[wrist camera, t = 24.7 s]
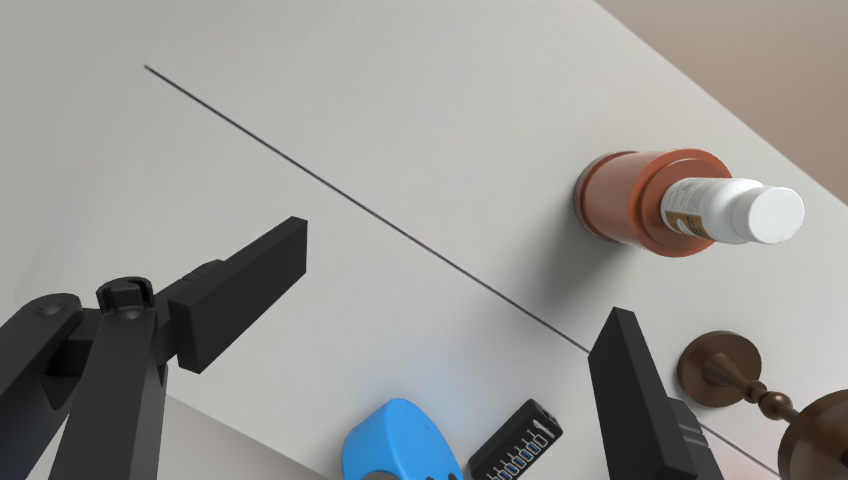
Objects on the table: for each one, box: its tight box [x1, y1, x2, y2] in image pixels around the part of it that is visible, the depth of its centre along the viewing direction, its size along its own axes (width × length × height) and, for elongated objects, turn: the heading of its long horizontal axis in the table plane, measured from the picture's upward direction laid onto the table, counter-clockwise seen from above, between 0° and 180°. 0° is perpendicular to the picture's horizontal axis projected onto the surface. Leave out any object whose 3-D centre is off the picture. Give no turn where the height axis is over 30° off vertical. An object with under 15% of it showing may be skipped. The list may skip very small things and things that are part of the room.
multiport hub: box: [469, 399, 563, 480], centre depth 44 cm, size 4×11×2 cm, turn 139°
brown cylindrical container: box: [574, 148, 732, 257], centre depth 36 cm, size 9×9×11 cm
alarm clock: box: [342, 398, 464, 480], centre depth 37 cm, size 13×6×15 cm, turn 39°
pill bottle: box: [661, 178, 804, 245], centre depth 26 cm, size 4×4×8 cm
